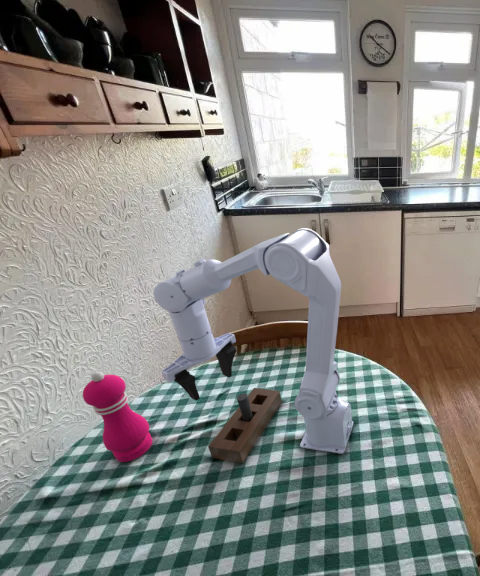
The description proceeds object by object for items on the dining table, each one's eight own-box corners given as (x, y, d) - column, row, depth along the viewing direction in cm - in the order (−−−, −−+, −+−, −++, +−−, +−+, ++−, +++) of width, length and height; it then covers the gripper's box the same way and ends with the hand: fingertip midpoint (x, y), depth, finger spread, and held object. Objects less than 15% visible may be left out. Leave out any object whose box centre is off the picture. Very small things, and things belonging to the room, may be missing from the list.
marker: (257, 424, 70) (249, 393, 66) (252, 431, 68) (243, 401, 64) (248, 422, 70) (240, 392, 67) (243, 430, 69) (234, 399, 65)
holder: (282, 401, 76) (279, 390, 75) (242, 463, 62) (239, 451, 60) (256, 398, 77) (253, 387, 76) (212, 458, 63) (207, 446, 61)
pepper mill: (133, 467, 61) (91, 389, 53) (103, 461, 62) (57, 384, 54) (163, 436, 67) (130, 362, 59) (136, 431, 69) (99, 358, 60)
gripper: (214, 312, 69) (228, 361, 74) (143, 347, 57) (166, 402, 63) (236, 319, 66) (249, 370, 71) (165, 357, 54) (188, 415, 60)
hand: (212, 386), depth 67 cm, fingers open, 7 cm apart
